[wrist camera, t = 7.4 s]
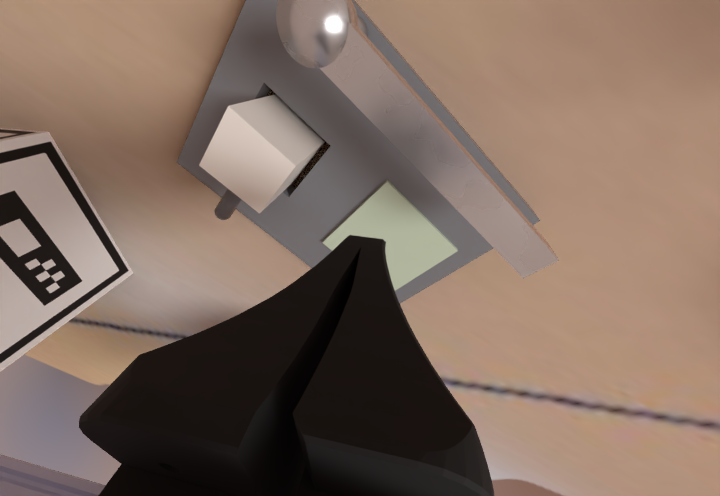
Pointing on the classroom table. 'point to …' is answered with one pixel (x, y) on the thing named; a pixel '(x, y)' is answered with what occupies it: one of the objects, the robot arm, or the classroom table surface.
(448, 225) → the socket plate
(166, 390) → the robot arm
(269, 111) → the plug
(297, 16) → the ball-topped lever
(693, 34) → the classroom table surface
